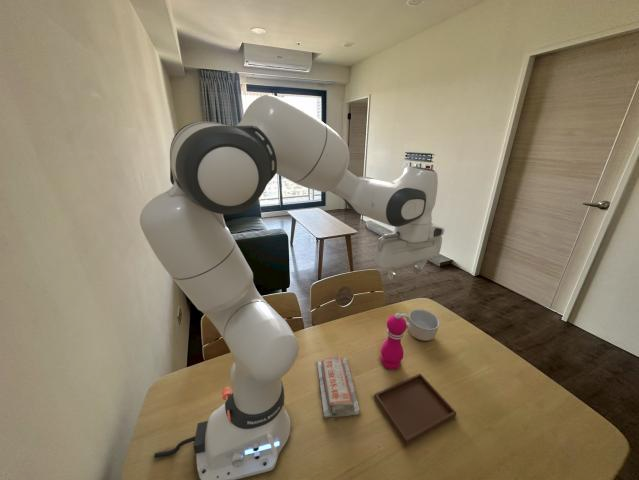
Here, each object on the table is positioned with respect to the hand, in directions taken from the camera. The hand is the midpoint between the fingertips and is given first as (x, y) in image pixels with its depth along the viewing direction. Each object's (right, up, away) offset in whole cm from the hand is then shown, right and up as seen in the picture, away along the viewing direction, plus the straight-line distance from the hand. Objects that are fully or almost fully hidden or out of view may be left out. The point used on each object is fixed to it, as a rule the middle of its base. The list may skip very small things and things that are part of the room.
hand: (404, 275), depth 72 cm
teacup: (+13, -26, +26) cm, 39 cm away
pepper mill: (0, -31, +13) cm, 34 cm away
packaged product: (-19, -35, +4) cm, 40 cm away
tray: (+2, -37, -1) cm, 37 cm away
